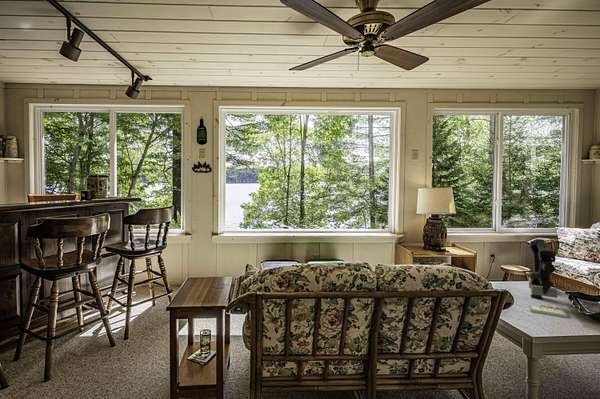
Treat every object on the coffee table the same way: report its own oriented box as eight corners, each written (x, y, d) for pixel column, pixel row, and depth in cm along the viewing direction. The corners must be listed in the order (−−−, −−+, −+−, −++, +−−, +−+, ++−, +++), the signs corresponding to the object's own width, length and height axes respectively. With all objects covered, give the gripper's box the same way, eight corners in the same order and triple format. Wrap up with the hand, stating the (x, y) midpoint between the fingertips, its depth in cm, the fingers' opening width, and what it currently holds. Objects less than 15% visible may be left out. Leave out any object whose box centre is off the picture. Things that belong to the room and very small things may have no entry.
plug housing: (530, 292, 215) (531, 284, 215) (555, 295, 209) (555, 287, 208) (532, 294, 210) (532, 286, 210) (557, 297, 204) (557, 290, 204)
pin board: (528, 306, 207) (528, 300, 207) (563, 312, 198) (564, 305, 198) (530, 311, 199) (530, 304, 199) (567, 318, 190) (567, 310, 190)
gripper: (527, 264, 221) (526, 287, 222) (532, 270, 204) (530, 294, 205) (548, 266, 216) (546, 289, 216) (554, 273, 199) (552, 298, 200)
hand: (543, 293), depth 209 cm, fingers closed on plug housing, 5 cm apart
